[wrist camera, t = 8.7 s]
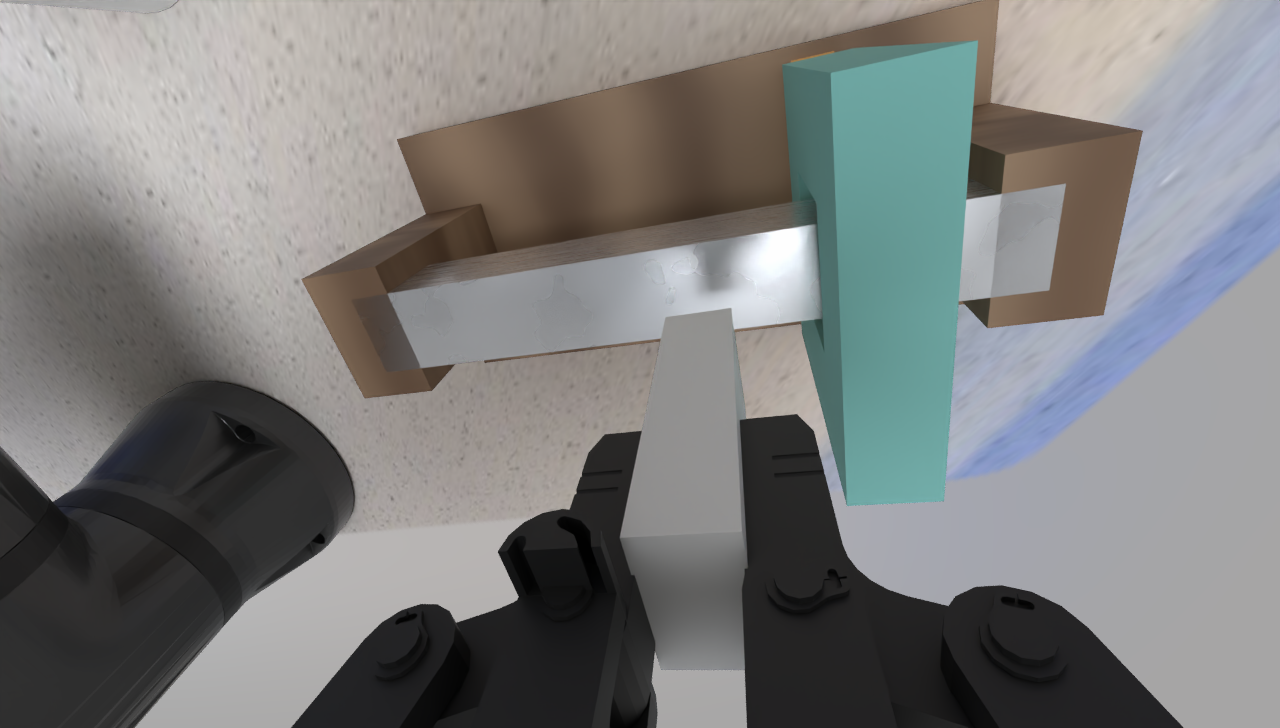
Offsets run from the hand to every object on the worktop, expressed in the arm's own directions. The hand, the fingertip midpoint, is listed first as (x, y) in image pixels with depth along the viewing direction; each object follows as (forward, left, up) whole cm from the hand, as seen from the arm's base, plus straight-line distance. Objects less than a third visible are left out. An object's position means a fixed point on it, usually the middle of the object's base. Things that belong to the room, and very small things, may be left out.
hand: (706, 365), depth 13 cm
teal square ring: (+4, 0, -12) cm, 13 cm away
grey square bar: (-2, 0, -8) cm, 8 cm away
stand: (-2, 0, -15) cm, 15 cm away
